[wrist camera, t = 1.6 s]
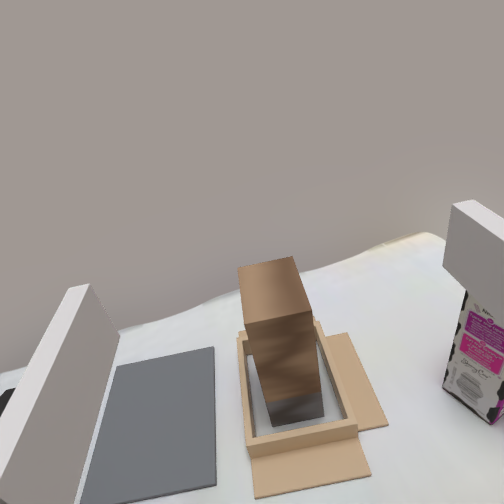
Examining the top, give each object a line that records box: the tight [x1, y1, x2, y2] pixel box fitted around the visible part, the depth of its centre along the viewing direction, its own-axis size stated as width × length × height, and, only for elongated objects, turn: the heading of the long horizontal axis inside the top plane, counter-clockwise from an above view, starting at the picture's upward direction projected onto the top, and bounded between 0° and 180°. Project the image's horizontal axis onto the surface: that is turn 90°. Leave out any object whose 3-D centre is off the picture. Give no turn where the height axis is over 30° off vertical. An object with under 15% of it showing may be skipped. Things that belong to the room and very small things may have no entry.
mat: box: [80, 346, 216, 504], centre depth 36 cm, size 12×15×1 cm
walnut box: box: [238, 256, 324, 427], centre depth 32 cm, size 5×7×14 cm
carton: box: [237, 316, 389, 499], centre depth 35 cm, size 13×18×2 cm
